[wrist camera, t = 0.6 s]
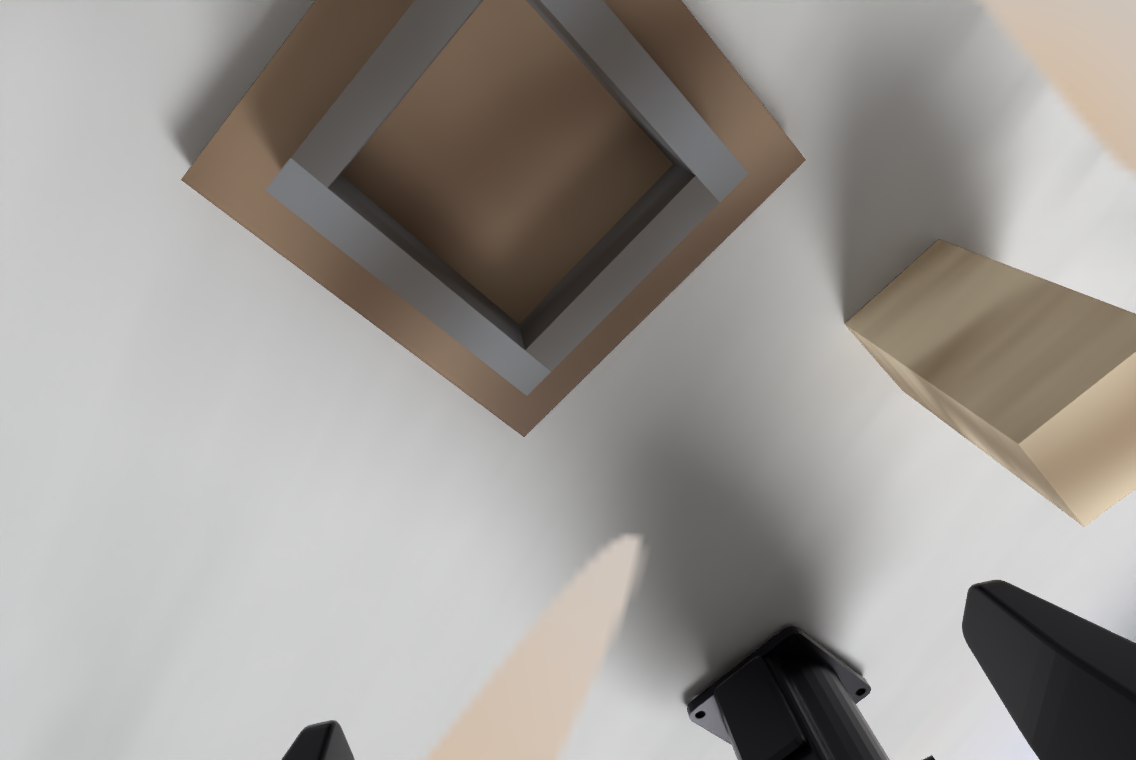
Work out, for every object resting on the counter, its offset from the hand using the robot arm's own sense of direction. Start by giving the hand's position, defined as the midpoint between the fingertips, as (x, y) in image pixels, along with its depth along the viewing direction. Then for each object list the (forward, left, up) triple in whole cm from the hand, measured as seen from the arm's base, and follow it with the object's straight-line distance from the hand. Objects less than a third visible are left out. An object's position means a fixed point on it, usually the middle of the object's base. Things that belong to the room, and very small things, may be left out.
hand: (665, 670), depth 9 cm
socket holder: (+4, -3, -14) cm, 14 cm away
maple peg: (-10, -9, -14) cm, 19 cm away
